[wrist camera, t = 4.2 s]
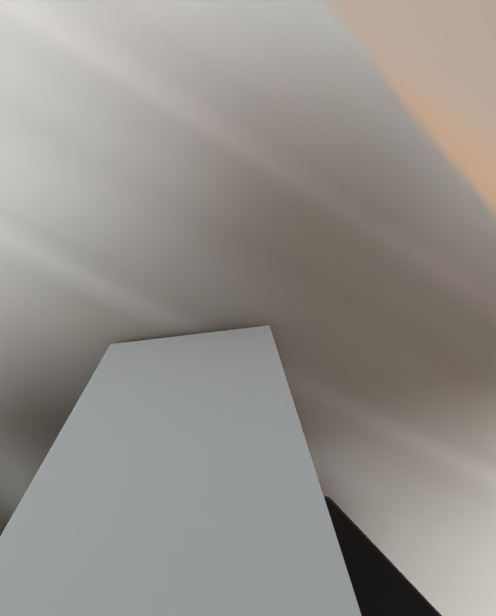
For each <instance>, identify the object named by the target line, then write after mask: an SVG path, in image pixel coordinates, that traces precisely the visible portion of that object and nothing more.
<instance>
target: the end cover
mask: <svg viewBox="0 0 496 616" xmlns="http://www.w3.org/2000/svg"><path fill="white" fill-rule="evenodd" d="M0 616H362V615H361V612H360V609H359V606H358V603H357V600H356V597H355V593H354V590H353V587H352V584H351V581H350V578H349V574H348V571H347V568H346V565H345V562H344V559H343V555H342V552H341V549H340V546H339V543H338V540H337V537H336V533H335V530H334V527H333V524H332V521H331V518H330V514H329V511H328V508H327V505H326V502H325V499H324V495H323V492H322V489H321V486H320V483H319V480H318V476H317V473H316V470H315V467H314V464H313V461H312V458H311V454H310V451H309V448H308V445H307V442H306V439H305V435H304V432H303V429H302V426H301V423H300V420H299V416H298V413H297V410H296V407H295V404H294V401H293V398H292V394H291V391H290V388H289V385H288V382H287V379H286V375H285V372H284V369H283V366H282V363H281V360H280V356H279V353H278V350H277V347H276V344H275V341H274V337H273V334H272V331H271V328H270V325H268V326H259V327H251V328H242V329H234V330H225V331H217V332H208V333H200V334H191V335H183V336H174V337H166V338H157V339H149V340H140V341H132V342H123V343H115V344H110V345H109V347H108V349H107V351H106V352H105V354H104V356H103V358H102V359H101V361H100V363H99V365H98V366H97V368H96V370H95V372H94V373H93V375H92V377H91V379H90V380H89V382H88V384H87V386H86V387H85V389H84V391H83V393H82V394H81V396H80V398H79V400H78V401H77V403H76V405H75V407H74V408H73V410H72V412H71V413H70V415H69V417H68V419H67V420H66V422H65V424H64V426H63V427H62V429H61V431H60V433H59V434H58V436H57V438H56V440H55V441H54V443H53V445H52V447H51V448H50V450H49V452H48V454H47V455H46V457H45V459H44V461H43V462H42V464H41V466H40V468H39V469H38V471H37V473H36V475H35V476H34V478H33V480H32V482H31V483H30V485H29V487H28V489H27V490H26V492H25V494H24V496H23V497H22V499H21V501H20V502H19V504H18V506H17V508H16V509H15V511H14V513H13V515H12V516H11V518H10V520H9V522H8V523H7V525H6V527H5V529H4V530H3V532H2V534H1V536H0Z"/></svg>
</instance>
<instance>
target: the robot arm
mask: <svg viewBox="0 0 496 616" xmlns="http://www.w3.org/2000/svg"><path fill="white" fill-rule="evenodd" d="M324 499H325V502H326V505H327V508H328V511H329V514H330V518H331V521H332V524H333V527H334V530H335V533H336V537H337V540H338V543H339V546H340V549H341V552H342V555H343V559H344V562H345V565H346V568H347V571H348V574H349V578H350V581H351V584H352V587H353V590H354V593H355V597H356V600H357V603H358V606H359V609H360V612H361V615H362V616H442V615H441V614H440V613H439V612H438V611H437V610H436V609H435V608H434V607H433V606H432V605H431V604H430V603H429V602H428V601H427V600H426V599H425V598H424V596H423V595H422V594H421V593H420V592H419V591H418V590H417V589H416V588H415V587H414V586H413V585H412V584H411V583H410V582H409V581H408V580H407V579H406V577H405V576H404V575H403V574H402V573H401V572H400V571H399V570H398V569H397V568H396V567H395V566H394V565H393V564H392V563H391V562H390V561H389V560H388V558H387V557H386V556H385V555H384V554H383V553H382V552H381V551H380V550H379V549H378V548H377V547H376V546H375V545H374V544H373V543H372V542H371V541H370V539H369V538H368V537H367V536H366V535H365V534H364V533H363V532H362V531H361V530H360V529H359V528H358V527H357V526H356V525H355V524H354V523H353V522H352V520H351V519H350V518H349V517H348V516H347V515H346V514H345V513H344V512H343V511H342V510H341V509H340V508H339V507H338V506H337V505H336V504H335V503H334V501H333V500H332V499H331V498H329V497H327V496H324Z"/></svg>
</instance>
